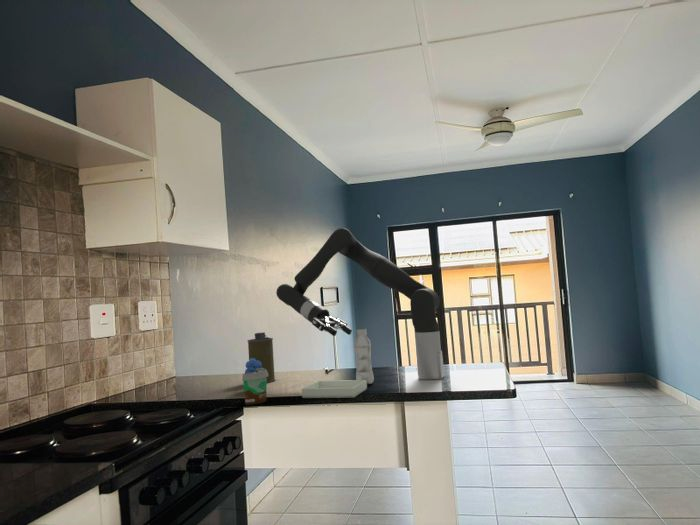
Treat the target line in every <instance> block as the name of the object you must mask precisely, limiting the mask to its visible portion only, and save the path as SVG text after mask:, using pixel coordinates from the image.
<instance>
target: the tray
mask: <svg viewBox="0 0 700 525" xmlns="http://www.w3.org/2000/svg"><path fill="white" fill-rule="evenodd" d="M366 390H368V384H367V381H366V380H356V379H352V380H351V379H349V380H347V379H345V380H338V379H337V380H317V381H315V382H312V383H311V384H308V385H306V386H305V387H302V388H301V398H302V399H313V398H314V399H318V398H319V399H323V398H324V399H329V398H330V399H331V398H332V399H334V398H335V399H337V398H338V399H342V398H343V399H345V398H346V399H351V398H354V399H355V398H356V397H357V396H358V395H360V394H362V393H363V392H365V391H366Z"/></svg>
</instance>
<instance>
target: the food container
mask: <svg viewBox="0 0 700 525" xmlns="http://www.w3.org/2000/svg"><path fill="white" fill-rule="evenodd" d="M268 376H269V375H268V372H267V370H266V369H256V371H255V372H251V373H249V374H245V373H242V377H241V378H242V382H243V383H242V384H243V392H244V404H245V406H248V405H256V404H261V403H265V402H267V384H268V383H267V377H268Z"/></svg>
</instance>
